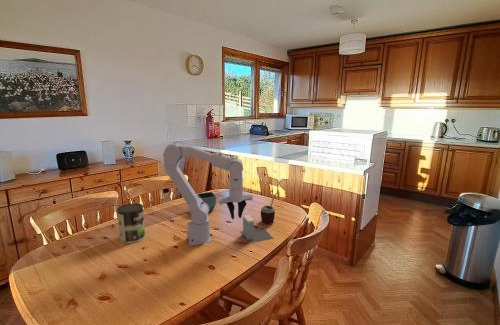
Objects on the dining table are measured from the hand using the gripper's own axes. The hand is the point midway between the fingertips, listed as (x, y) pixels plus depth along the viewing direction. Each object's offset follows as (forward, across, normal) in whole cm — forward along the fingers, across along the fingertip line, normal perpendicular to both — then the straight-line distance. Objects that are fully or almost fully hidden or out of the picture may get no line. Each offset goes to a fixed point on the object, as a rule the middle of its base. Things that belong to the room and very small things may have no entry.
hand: (236, 217), depth 111 cm
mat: (+10, +10, 0) cm, 14 cm away
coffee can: (+10, -42, +17) cm, 47 cm away
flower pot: (+10, -5, +36) cm, 38 cm away
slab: (+10, +6, 0) cm, 12 cm away
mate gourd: (+11, +21, +11) cm, 26 cm away
